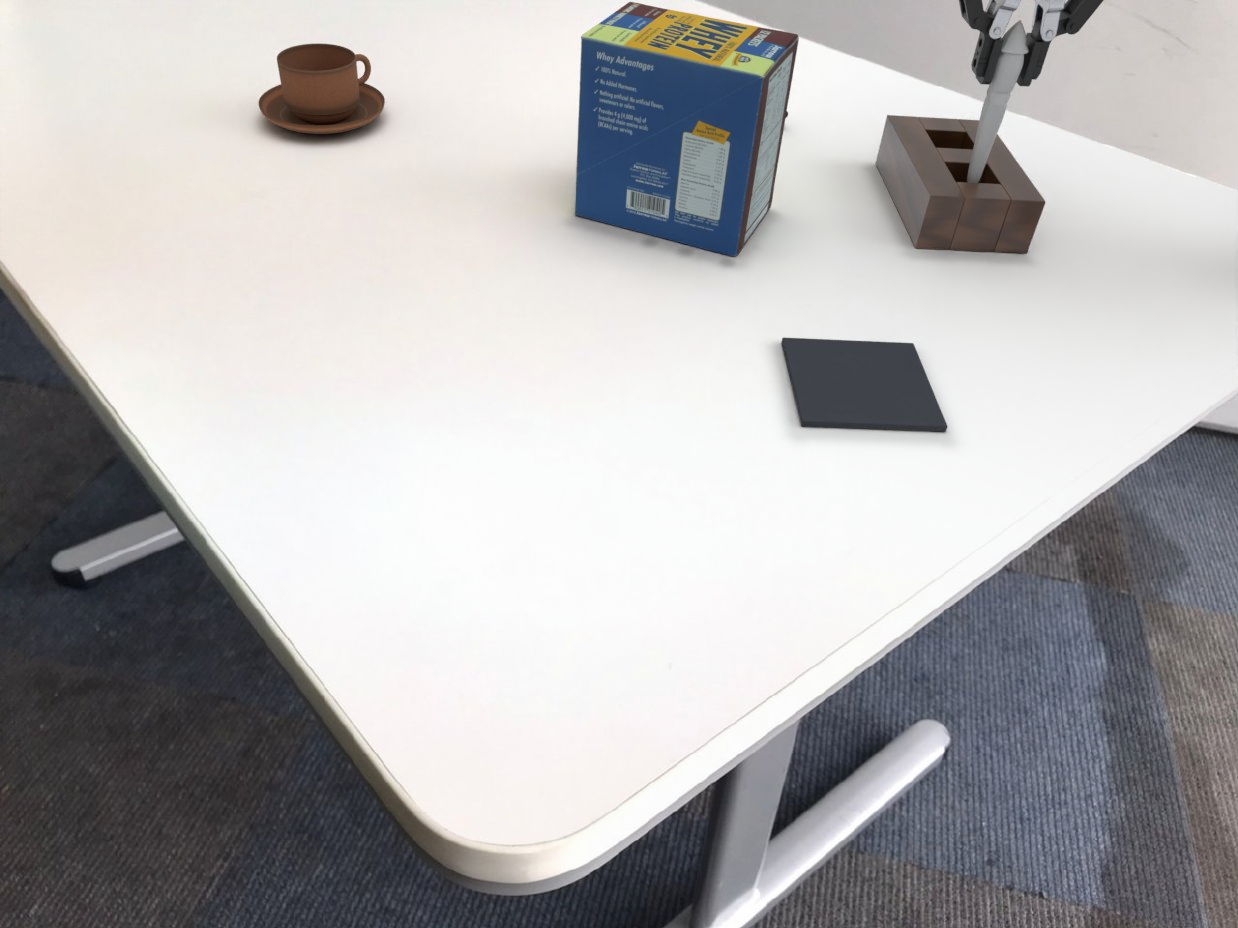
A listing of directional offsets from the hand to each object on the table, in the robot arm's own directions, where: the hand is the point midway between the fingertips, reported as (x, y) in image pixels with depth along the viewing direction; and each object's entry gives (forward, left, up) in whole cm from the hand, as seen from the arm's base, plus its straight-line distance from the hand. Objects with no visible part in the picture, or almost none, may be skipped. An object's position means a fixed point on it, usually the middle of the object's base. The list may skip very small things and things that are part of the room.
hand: (1002, 81), depth 84 cm
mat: (+14, +25, -13) cm, 32 cm away
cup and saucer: (+60, -16, -13) cm, 63 cm away
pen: (0, 0, -9) cm, 9 cm away
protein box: (+26, 0, -13) cm, 29 cm away
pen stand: (0, -4, -13) cm, 13 cm away
